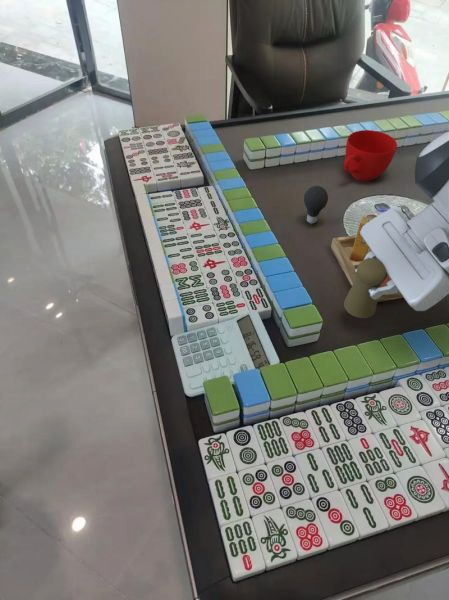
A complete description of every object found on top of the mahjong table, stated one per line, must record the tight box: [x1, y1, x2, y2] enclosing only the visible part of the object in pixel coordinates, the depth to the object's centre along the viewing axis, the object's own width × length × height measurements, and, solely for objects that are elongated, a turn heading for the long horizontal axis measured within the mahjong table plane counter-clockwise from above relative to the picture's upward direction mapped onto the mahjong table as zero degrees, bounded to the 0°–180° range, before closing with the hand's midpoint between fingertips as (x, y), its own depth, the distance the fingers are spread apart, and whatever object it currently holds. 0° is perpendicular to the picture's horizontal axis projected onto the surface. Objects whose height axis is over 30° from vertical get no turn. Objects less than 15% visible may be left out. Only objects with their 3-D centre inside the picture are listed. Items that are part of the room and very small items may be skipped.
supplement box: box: [350, 215, 374, 261], centre depth 94 cm, size 3×3×10 cm
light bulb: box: [303, 185, 329, 225], centre depth 103 cm, size 6×6×10 cm
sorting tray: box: [330, 234, 405, 303], centre depth 94 cm, size 10×18×3 cm, turn 11°
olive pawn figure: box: [343, 258, 387, 319], centre depth 79 cm, size 6×6×11 cm
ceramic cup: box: [343, 129, 398, 182], centre depth 117 cm, size 13×17×10 cm
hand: (364, 285), depth 78 cm, fingers closed on olive pawn figure, 4 cm apart
